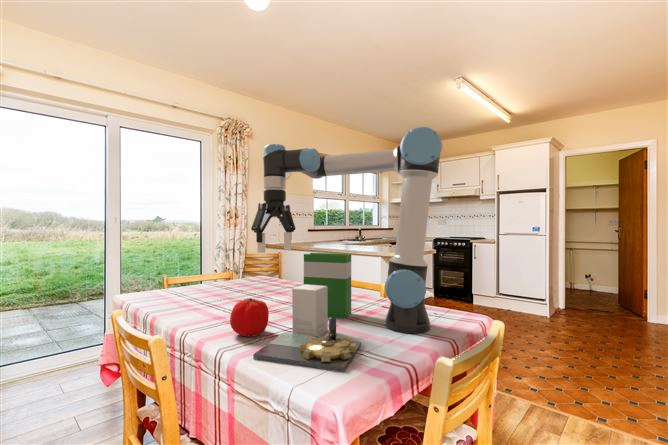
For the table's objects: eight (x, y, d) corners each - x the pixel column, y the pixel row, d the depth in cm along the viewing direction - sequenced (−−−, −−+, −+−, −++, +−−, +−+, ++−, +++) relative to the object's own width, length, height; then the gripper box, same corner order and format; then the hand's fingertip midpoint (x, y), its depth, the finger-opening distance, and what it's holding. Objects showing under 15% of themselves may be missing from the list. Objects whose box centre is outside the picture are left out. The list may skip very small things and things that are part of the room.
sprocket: (347, 365, 78) (347, 333, 78) (290, 357, 82) (290, 327, 82) (361, 343, 92) (361, 317, 92) (312, 338, 96) (312, 312, 96)
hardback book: (303, 314, 129) (303, 254, 129) (310, 309, 136) (311, 252, 136) (345, 318, 123) (345, 255, 123) (351, 313, 130) (351, 253, 130)
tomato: (232, 343, 96) (232, 304, 96) (227, 330, 108) (228, 295, 109) (272, 337, 101) (273, 300, 101) (264, 326, 113) (264, 293, 114)
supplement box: (328, 330, 109) (328, 285, 109) (316, 338, 101) (316, 290, 101) (305, 326, 113) (305, 283, 113) (291, 334, 105) (291, 287, 105)
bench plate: (361, 345, 94) (361, 341, 94) (344, 372, 77) (344, 366, 77) (284, 336, 102) (284, 332, 102) (253, 358, 85) (253, 353, 85)
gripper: (288, 193, 125) (289, 248, 124) (239, 187, 103) (240, 253, 103) (304, 192, 121) (305, 249, 121) (257, 185, 99) (257, 254, 99)
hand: (275, 251), depth 112 cm, fingers open, 13 cm apart
